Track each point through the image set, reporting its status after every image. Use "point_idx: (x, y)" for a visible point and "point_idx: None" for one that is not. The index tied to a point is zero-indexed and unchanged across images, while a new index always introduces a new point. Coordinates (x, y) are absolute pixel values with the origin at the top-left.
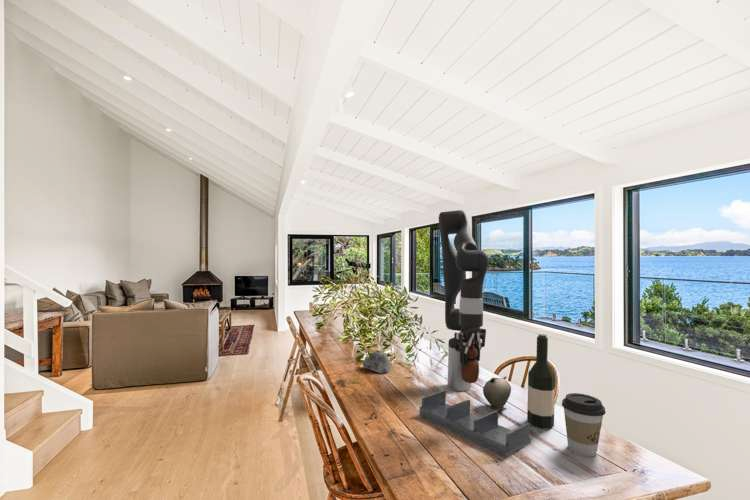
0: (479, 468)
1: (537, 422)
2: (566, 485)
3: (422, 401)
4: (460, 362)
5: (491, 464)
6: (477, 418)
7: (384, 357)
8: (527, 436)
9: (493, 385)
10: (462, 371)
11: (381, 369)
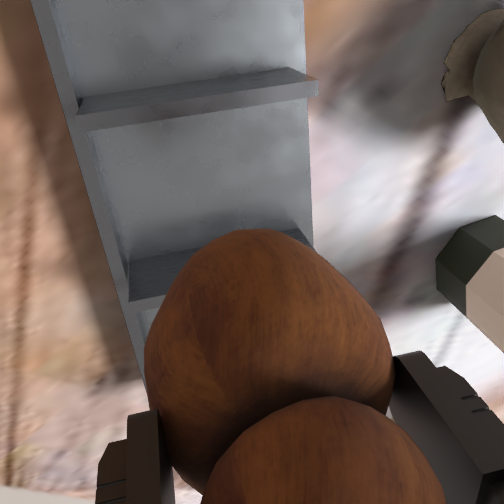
0: (10, 392)
1: (448, 287)
2: (190, 494)
3: None
4: (109, 447)
5: (70, 388)
6: (158, 297)
7: None
8: None
9: None
10: (144, 362)
11: None
